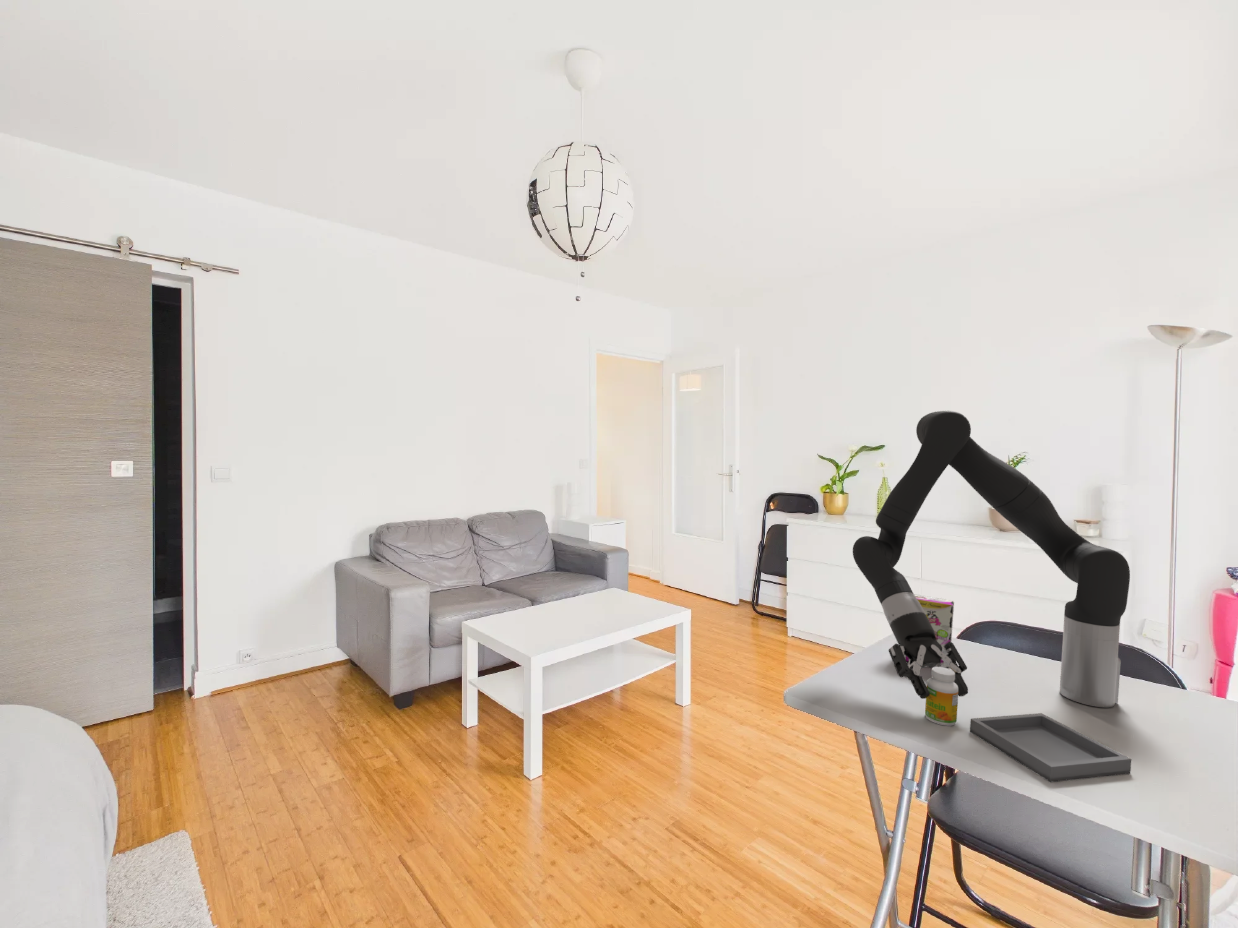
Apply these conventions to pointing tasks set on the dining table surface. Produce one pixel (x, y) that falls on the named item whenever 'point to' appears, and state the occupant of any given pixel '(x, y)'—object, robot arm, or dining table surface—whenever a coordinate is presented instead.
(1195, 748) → the dining table surface
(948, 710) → the supplement bottle
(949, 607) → the candy bar box
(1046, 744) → the tray
